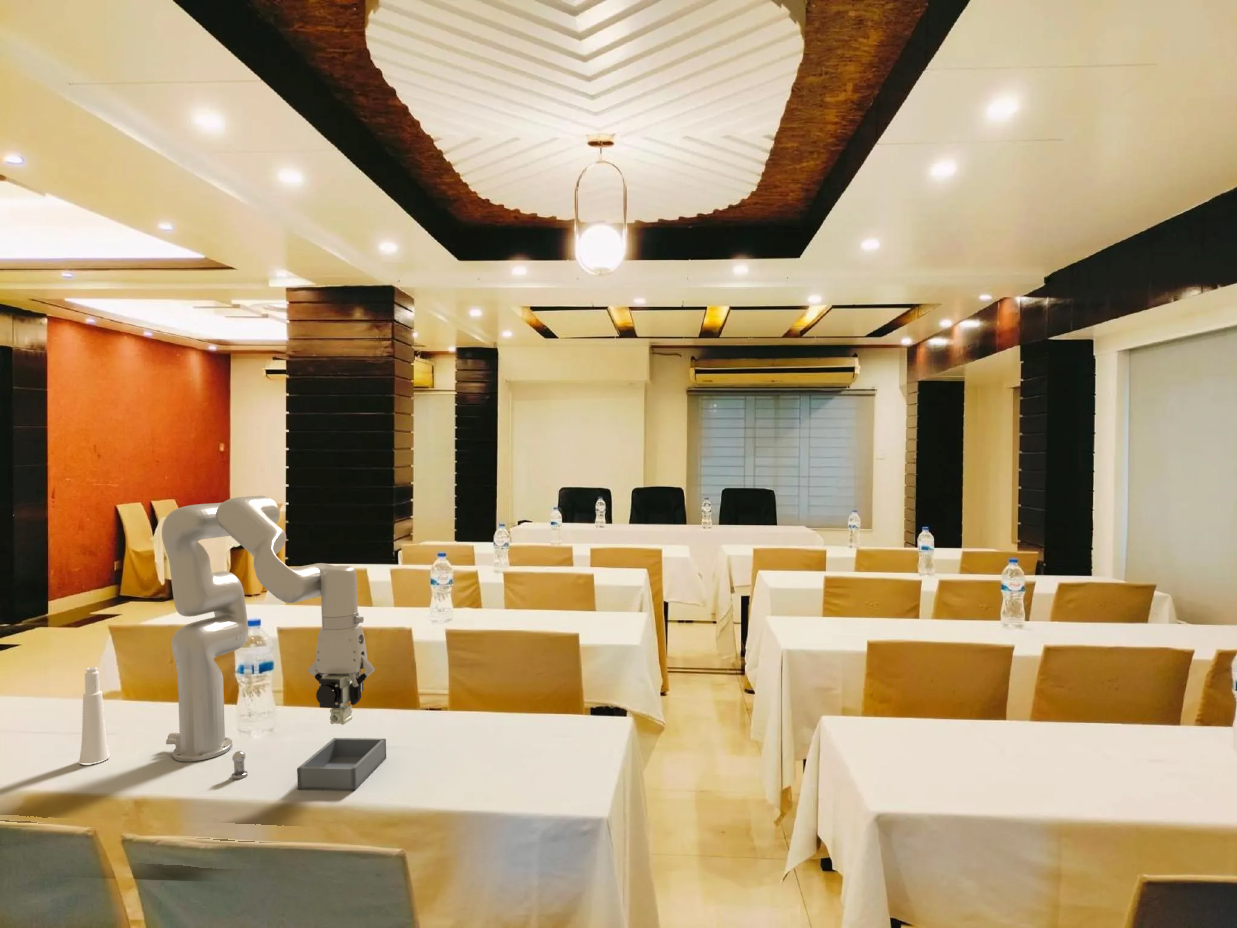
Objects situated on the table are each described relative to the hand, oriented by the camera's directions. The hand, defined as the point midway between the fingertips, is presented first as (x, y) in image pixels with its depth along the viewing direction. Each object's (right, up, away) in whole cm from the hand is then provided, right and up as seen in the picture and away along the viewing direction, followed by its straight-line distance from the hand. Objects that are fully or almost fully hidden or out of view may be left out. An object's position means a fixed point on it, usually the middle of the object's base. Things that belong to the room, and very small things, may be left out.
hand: (342, 702), depth 164 cm
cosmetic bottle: (-63, -17, +10) cm, 66 cm away
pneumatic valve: (0, -5, 0) cm, 5 cm away
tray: (0, -16, 0) cm, 16 cm away
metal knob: (-23, -16, 0) cm, 28 cm away
